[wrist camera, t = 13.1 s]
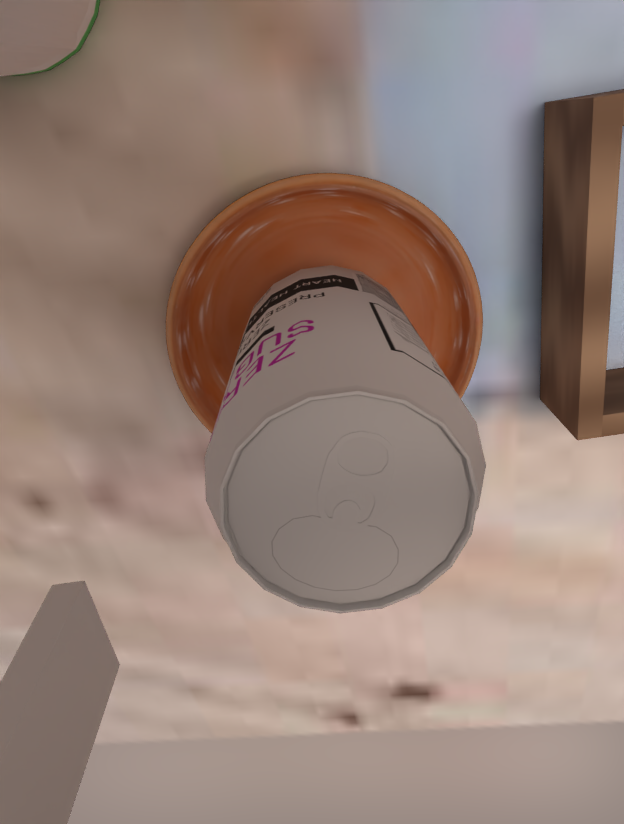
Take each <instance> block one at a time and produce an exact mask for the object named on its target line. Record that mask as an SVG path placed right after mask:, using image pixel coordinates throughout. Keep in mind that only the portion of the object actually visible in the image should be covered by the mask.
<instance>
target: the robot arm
mask: <svg viewBox="0 0 624 824" xmlns="http://www.w3.org/2000/svg"><path fill="white" fill-rule="evenodd" d="M119 665H120V664H119V662H118V659H117V657H116V654H115V652H114V650H113V647H112V645H111V643H110V640H109V638H108V635H107V633H106V631H105V628H104V626H103V624H102V621H101V619H100V616H99V614H98V612H97V609H96V607H95V605H94V602H93V600H92V597H91V595H90V593H89V590H88V588H87V586H86V583H85V581H79V582H71V583H64V584H56V585H52V586H51V588H50V590H49V592H48V594H47V596H46V598H45V600H44V602H43V603H42V605H41V607H40V609H39V611H38V613H37V615H36V617H35V618H34V620H33V622H32V624H31V626H30V628H29V630H28V632H27V634H26V635H25V637H24V639H23V641H22V643H21V645H20V647H19V649H18V650H17V652H16V654H15V656H14V658H13V660H12V662H11V664H10V666H9V667H8V669H7V671H6V673H5V675H4V677H3V679H2V681H1V682H0V824H67V823H68V819H69V817H70V814H71V811H72V807H73V804H74V801H75V798H76V795H77V792H78V789H79V786H80V783H81V780H82V777H83V774H84V771H85V768H86V765H87V762H88V759H89V756H90V753H91V750H92V747H93V744H94V741H95V738H96V735H97V732H98V729H99V726H100V723H101V720H102V717H103V714H104V711H105V708H106V705H107V702H108V699H109V696H110V693H111V690H112V687H113V683H114V680H115V677H116V674H117V671H118V668H119Z"/></svg>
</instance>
